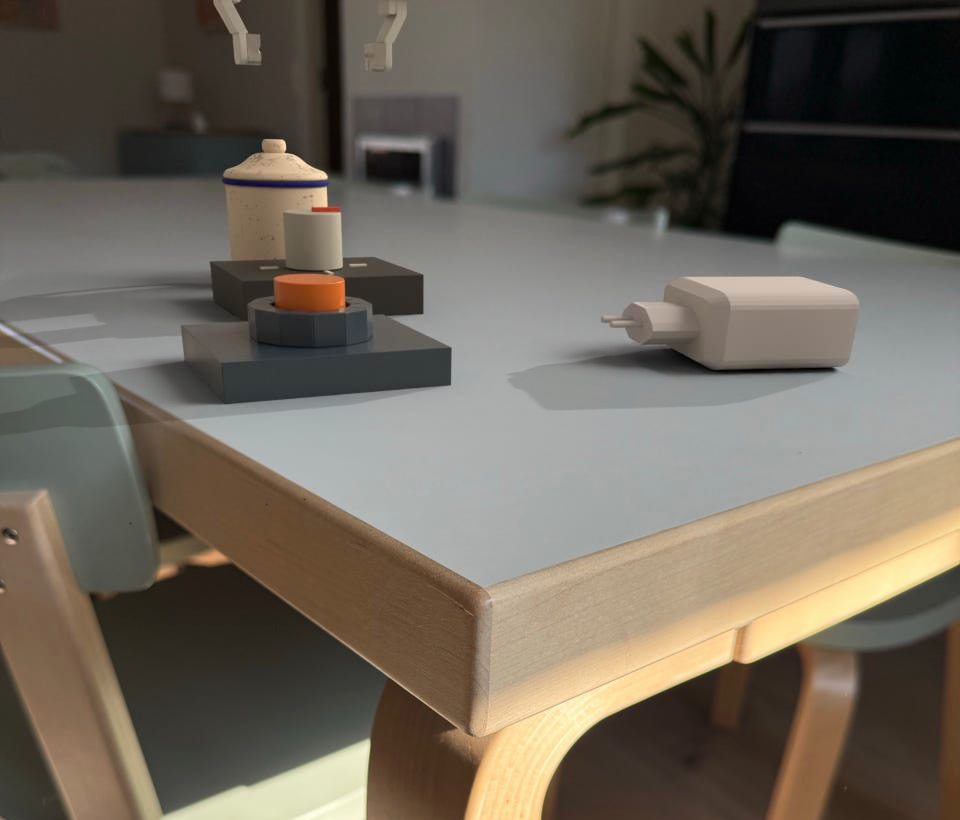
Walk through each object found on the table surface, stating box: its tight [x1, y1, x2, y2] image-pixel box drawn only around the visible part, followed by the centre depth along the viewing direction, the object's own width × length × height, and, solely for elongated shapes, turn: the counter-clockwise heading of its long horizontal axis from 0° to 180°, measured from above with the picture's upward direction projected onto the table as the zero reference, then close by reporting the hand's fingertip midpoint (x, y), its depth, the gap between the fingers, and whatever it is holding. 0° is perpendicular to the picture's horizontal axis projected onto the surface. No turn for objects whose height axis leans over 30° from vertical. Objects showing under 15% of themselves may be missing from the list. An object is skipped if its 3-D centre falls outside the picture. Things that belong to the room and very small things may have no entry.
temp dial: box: [283, 206, 343, 271], centre depth 76 cm, size 4×4×4 cm
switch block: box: [180, 296, 453, 405], centre depth 58 cm, size 13×11×4 cm
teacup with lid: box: [221, 138, 330, 261], centre depth 87 cm, size 12×9×12 cm
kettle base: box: [209, 256, 425, 322], centre depth 78 cm, size 14×11×3 cm
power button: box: [273, 274, 345, 311], centre depth 56 cm, size 4×4×2 cm
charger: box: [600, 276, 861, 371], centre depth 64 cm, size 5×9×15 cm
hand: (315, 68), depth 69 cm, fingers open, 8 cm apart
